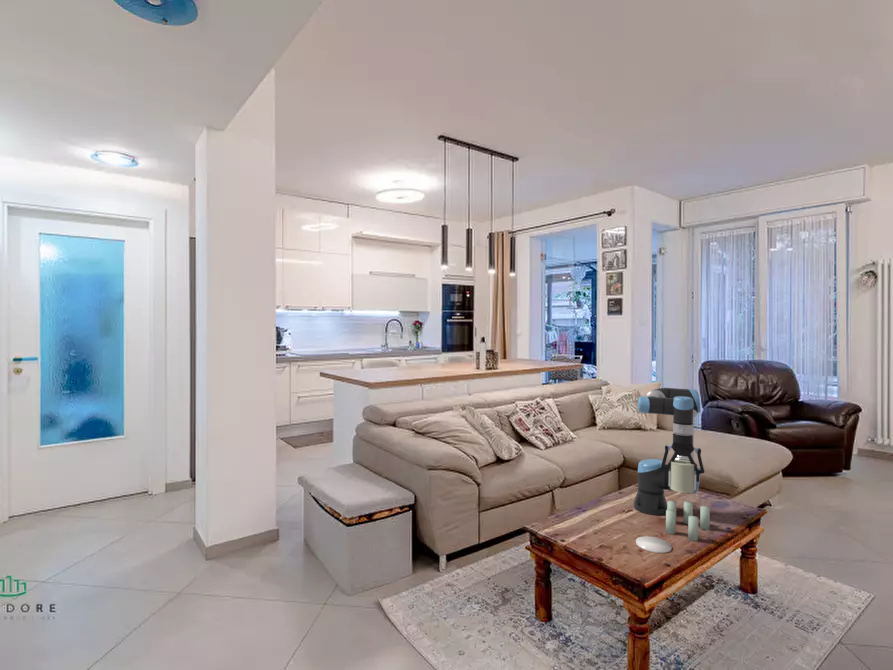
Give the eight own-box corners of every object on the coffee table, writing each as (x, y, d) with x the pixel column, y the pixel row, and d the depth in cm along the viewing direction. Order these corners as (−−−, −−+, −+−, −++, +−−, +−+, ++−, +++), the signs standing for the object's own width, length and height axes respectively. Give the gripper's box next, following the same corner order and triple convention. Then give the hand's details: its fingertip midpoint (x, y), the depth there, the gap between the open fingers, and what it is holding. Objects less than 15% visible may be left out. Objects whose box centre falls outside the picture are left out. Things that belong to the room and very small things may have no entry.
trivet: (634, 548, 183) (634, 546, 183) (637, 535, 195) (637, 533, 195) (670, 555, 177) (670, 554, 177) (672, 542, 189) (672, 540, 189)
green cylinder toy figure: (685, 494, 190) (686, 465, 190) (665, 487, 198) (665, 459, 198) (699, 491, 194) (699, 462, 194) (678, 484, 202) (679, 457, 202)
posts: (665, 535, 195) (665, 514, 194) (667, 517, 213) (667, 498, 213) (710, 544, 187) (711, 522, 187) (709, 525, 205) (709, 504, 205)
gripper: (654, 432, 198) (653, 485, 198) (712, 438, 188) (712, 494, 188) (655, 429, 204) (654, 480, 204) (711, 434, 195) (710, 488, 195)
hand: (682, 487), depth 196 cm, fingers closed on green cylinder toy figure, 9 cm apart
